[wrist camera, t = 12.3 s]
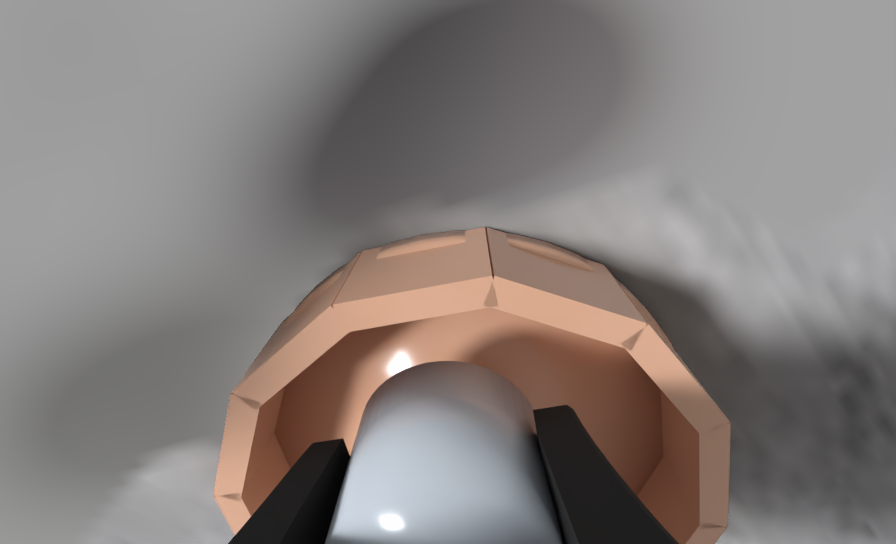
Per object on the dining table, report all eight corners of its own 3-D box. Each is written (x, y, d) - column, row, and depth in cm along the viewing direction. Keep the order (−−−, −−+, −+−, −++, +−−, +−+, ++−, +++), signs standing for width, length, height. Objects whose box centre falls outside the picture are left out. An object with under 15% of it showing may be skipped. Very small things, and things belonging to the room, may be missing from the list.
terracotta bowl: (335, 578, 16) (310, 678, 13) (198, 278, 11) (120, 337, 9) (680, 538, 14) (728, 639, 12) (671, 186, 10) (742, 224, 8)
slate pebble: (386, 509, 10) (358, 669, 8) (337, 377, 9) (283, 512, 6) (548, 487, 10) (581, 646, 7) (523, 346, 9) (553, 475, 6)
